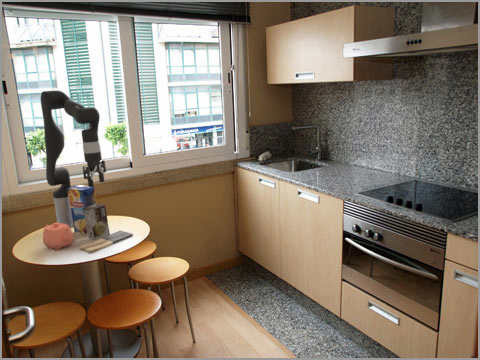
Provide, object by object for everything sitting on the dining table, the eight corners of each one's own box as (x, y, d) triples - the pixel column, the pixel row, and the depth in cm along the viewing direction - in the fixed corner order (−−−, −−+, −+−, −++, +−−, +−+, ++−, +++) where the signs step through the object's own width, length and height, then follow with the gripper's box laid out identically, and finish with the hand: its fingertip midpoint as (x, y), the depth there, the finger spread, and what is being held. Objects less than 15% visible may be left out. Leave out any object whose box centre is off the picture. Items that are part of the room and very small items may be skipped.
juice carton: (100, 229, 211) (94, 186, 205) (89, 234, 205) (82, 190, 199) (85, 226, 217) (78, 184, 211) (74, 231, 210) (67, 188, 205)
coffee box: (103, 232, 207) (98, 202, 203) (110, 234, 203) (105, 204, 199) (87, 237, 200) (82, 207, 196) (94, 240, 196) (89, 209, 192)
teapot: (37, 247, 191) (33, 224, 188) (60, 238, 201) (56, 216, 198) (61, 255, 180) (57, 230, 178) (83, 245, 190) (80, 222, 187)
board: (79, 248, 187) (78, 246, 186) (120, 232, 205) (120, 230, 205) (91, 253, 181) (91, 251, 180) (132, 235, 199) (132, 233, 199)
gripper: (94, 148, 191) (98, 180, 195) (75, 153, 178) (80, 188, 182) (107, 148, 189) (112, 180, 193) (89, 154, 176) (94, 188, 180)
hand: (96, 184), depth 187 cm, fingers open, 8 cm apart
